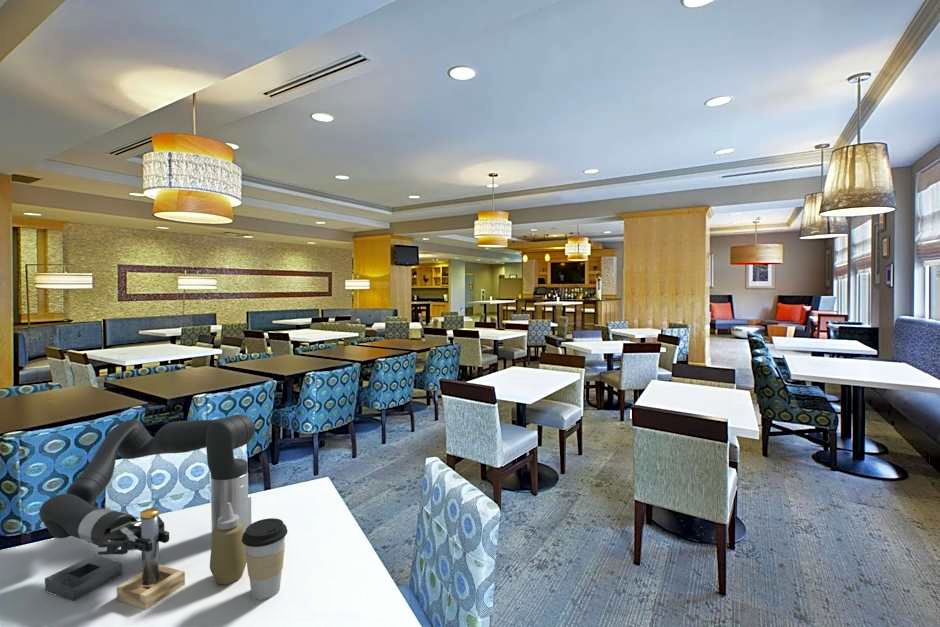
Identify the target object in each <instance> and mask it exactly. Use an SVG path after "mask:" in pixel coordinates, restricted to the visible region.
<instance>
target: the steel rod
mask: <svg viewBox="0 0 940 627" xmlns="http://www.w3.org/2000/svg"><path fill="white" fill-rule="evenodd" d="M159 514H160V510H159V508H158V507H149V508H146V509H143V510H142V511H141V512H140V521H141V538H143V539H147V540H150V541H152V550H151V551H149V552H146V551H141V573H142V585H151V584H154V583H156V582H157V581H158V580H159V565H160V546H159V545H160V542H159V522H158V516H159Z"/></svg>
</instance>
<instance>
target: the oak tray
mask: <svg viewBox="0 0 940 627" xmlns="http://www.w3.org/2000/svg"><path fill="white" fill-rule="evenodd" d="M185 585H186V572H185V571H183V570H180V569H176V568H173V567H169V566H165V565H163V564H159V580H158V581H157V582H156V583H154V584H151V585H142V572H141V573H139V574H137V575H136V576H133V577H132V578H130V579H129V580H126V581H125V582H122V583H121V584H120V585H118V586H116V600H117V602H118V601H119V602H122V603H125V604H128V605H130V606H133V607H136V608H138V609H139V608H140V609H143V610H148V609H149V608H150V607H152V606H154V605H155V604H157V603H158V602H160V601H161V600H163V599H165V598H166V597H168V596H170V595H171V594H172V593H174V592H176V591H177V590H179V589H180V588H182V587H183V586H185Z"/></svg>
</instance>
